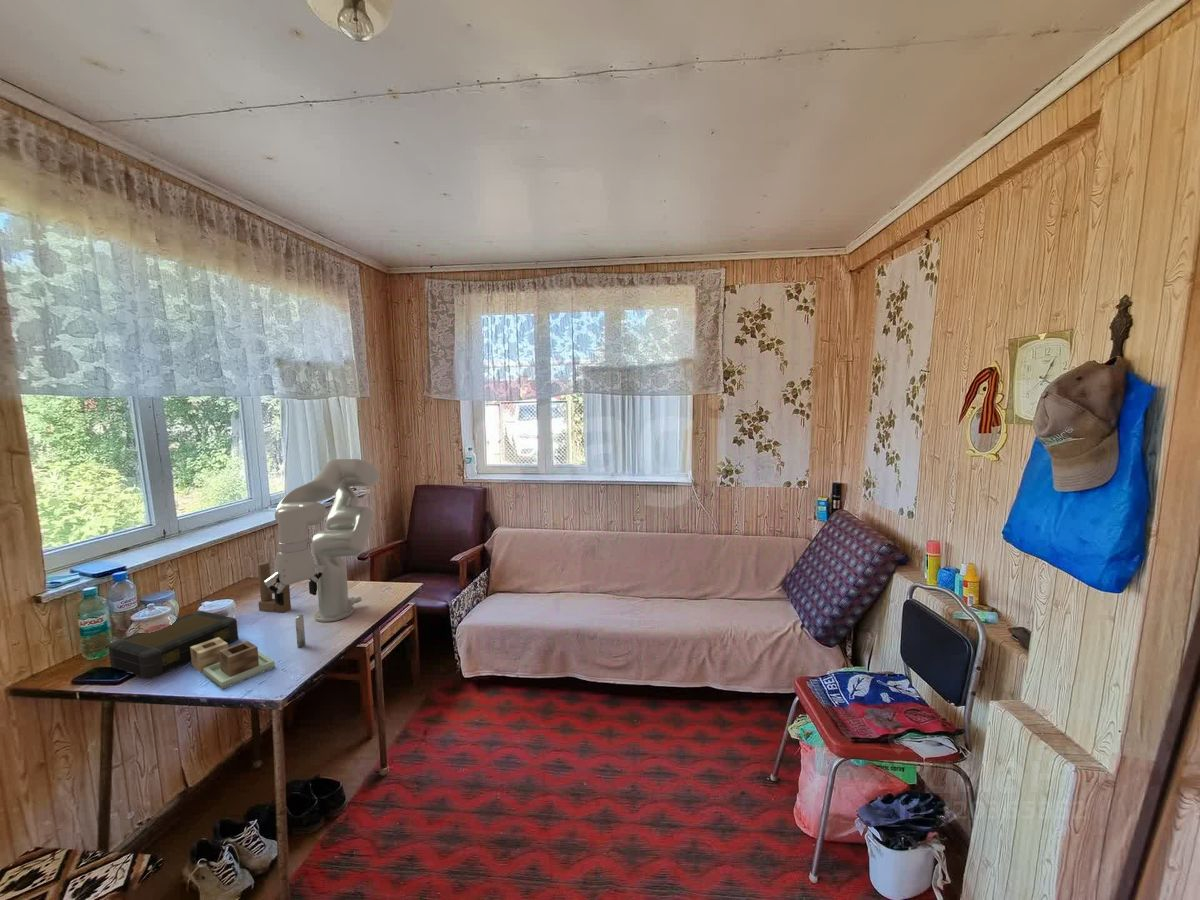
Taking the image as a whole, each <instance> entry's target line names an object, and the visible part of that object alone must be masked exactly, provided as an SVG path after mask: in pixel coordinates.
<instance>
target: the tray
mask: <svg viewBox="0 0 1200 900" xmlns="http://www.w3.org/2000/svg"><path fill="white" fill-rule="evenodd" d="M258 659H259V666H257V667H254V668H252V669H249V670H247V671H245V672H242V673H240V674H237V675H235V676H232V677H229V676H228V675H226V674H225V673H224V672H222V671H221V667H220V662H218V663H216V664H213V665H210V666H208V667H205V668H203V672H202V673H203V676H204V677H205V678H207V679H208V680H210V681H211V683H213V684H214V685H216V686H217V687H218V688H219V687H220V688H219V689H220V690H224V689H223V688H225V687H227V688H229V687H231V686H230V685H232V686H234V685H236V684H235V683H237V684H239V683H241V682H243V681H242V680H244V679H246V680H248V679H250V678H249V677H251V678H253V677H255V676H254V675H256V674H258V675H260V674H262V673H261V672H263V671H265V672H267V671H269V670H268V669H270V670H272V669H274V668H273V667H275V668H276V666H275V660H274V659H272V658H271V657H269V656H267V655H265V654H264V653H262V652H261V651H259V650H258ZM271 668H272V669H271ZM266 670H267V671H266ZM259 673H260V674H259ZM263 673H264V672H263ZM252 676H253V677H252ZM256 676H257V675H256ZM247 678H248V679H247ZM240 681H241V682H240ZM244 681H245V680H244ZM238 682H239V683H238ZM233 684H234V685H233ZM228 686H229V687H228ZM225 689H226V688H225Z"/></svg>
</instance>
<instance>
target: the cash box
mask: <svg viewBox="0 0 1200 900" xmlns="http://www.w3.org/2000/svg"><path fill="white" fill-rule="evenodd" d="M175 619H176V621H175V622H174V623H173V624H172V625H170V626H168V627H166V628H163V629H161V630H158V631H155V632H151V633H139V632H136V633H134V634H131V635H128V636H126V637H121V638H120V639H118V640H115V641H113V642H111V643H109V644H108V652H109V654H108V655H109V662H110V668H111V667H116V668H121V669H124V670H128V671H131V672H133V673H135V674H136V675H138V676H140V677H139V678H141V677H143V678H142V679H145V678H151V679H154V678H153V677H155V678H157V677H158V676H159V677H160V676H162V675H163V674H166V673H168V672H170V671H172V670H174V669H177V668H179V667H181V666H184V665H186V664H188V663H191V662H192V661H191V651H190V647H191V646H194V645H197V644H200V643H203V642H206V641H209V640H212V639H215V638H218V637H219V638H221V639H222V640H224V641H225V642H227V643H228V645H230V644H233V643H234V642H237V640H238V639H239V633H238V622H237V621H238V620H237V619H236V618H234V617H231V616H226V615H222V614H217V613H212V612H208V611H204V610H197V611H193V612H191V613H189V614H184V615H183V616H180V617H177V618H175ZM138 676H137V677H138ZM156 676H157V677H156Z"/></svg>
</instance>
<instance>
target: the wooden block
mask: <svg viewBox="0 0 1200 900" xmlns="http://www.w3.org/2000/svg"><path fill="white" fill-rule="evenodd" d="M257 568H258V569H257V570H258V580H259V581H258V582H259V583H258V584H259V591H260V594H259V595H260V600H259V601H258V602H257V603H258V611H260V612H271V613H272V612H273V613H274V612H275V613H281V614H282V613H286V612H287V611H289V610H291V608H292V603H291V594H290V593H291V592H290V591H291V590H290V585H285V587H284V588H283V590H282V591H281V592H282V593H283V598H284V605H282V606H281V605H278V604H277V603H276V602H275V598H273V595H275V592H273V591H271V590H270V589H268V587H267V586H266V585H265V584H264V581H265V580H267V579H268V578H269V577H271V576H272V575H271V566H270V562H269V561H263V562H259V563H258V564H257ZM276 584H277V583H276V582H275V581H274V583H272V585H273V586H274V587H275V586H276Z"/></svg>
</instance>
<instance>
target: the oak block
mask: <svg viewBox="0 0 1200 900" xmlns="http://www.w3.org/2000/svg"><path fill="white" fill-rule="evenodd" d="M228 647H229V644H228V643H227V642H225V641H224V640H222V639H221V638H219V637H218V638H215V639H212V640H209V641H206V642H203V643H200V644H197V645H194V646H191V647H190V651H191V661H190V662H191V667H193V668H194V669H195V670H197V671H198V672H199V673H201V674H202V673H203V668H205V667H208V666H210V665H213V664H216V663H218V662H220V657H219V650H222V649H225V648H228Z"/></svg>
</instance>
